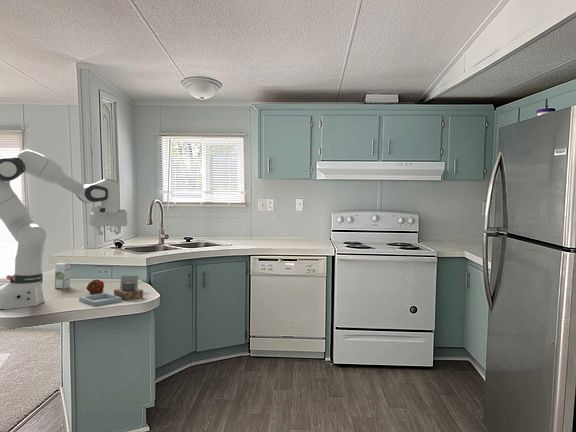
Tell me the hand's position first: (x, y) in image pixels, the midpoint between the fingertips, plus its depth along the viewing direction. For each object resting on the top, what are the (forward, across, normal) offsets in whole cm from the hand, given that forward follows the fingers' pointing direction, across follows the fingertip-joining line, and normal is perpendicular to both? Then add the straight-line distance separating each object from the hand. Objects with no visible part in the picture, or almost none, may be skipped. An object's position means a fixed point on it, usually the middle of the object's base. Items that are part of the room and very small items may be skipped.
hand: (108, 234), depth 220 cm
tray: (+33, +9, +10) cm, 36 cm away
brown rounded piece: (+33, +2, -8) cm, 34 cm away
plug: (+33, -5, +12) cm, 36 cm away
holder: (+33, -5, +12) cm, 36 cm away
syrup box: (+33, +8, -33) cm, 48 cm away
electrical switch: (+33, -14, -1) cm, 36 cm away
